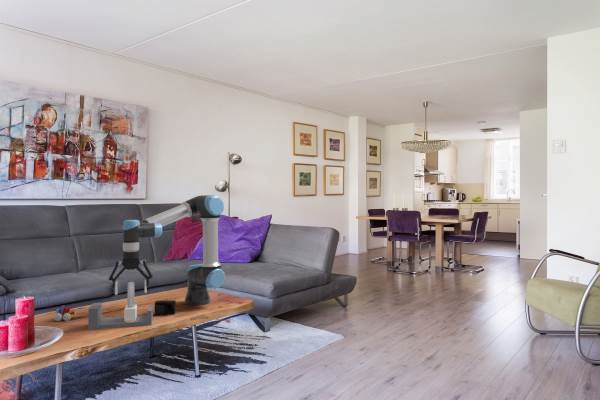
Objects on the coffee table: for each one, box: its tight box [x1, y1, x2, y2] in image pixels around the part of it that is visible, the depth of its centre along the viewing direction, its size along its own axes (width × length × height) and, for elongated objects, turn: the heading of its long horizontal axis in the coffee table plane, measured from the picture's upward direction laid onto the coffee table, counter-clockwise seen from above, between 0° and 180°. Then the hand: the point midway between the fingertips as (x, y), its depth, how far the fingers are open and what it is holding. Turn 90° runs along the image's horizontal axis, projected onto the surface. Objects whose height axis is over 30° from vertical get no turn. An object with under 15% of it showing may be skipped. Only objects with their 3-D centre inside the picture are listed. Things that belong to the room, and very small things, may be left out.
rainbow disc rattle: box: [53, 305, 77, 322], centre depth 212 cm, size 8×10×7 cm
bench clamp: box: [87, 302, 154, 331], centre depth 204 cm, size 28×12×10 cm, turn 107°
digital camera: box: [154, 299, 177, 316], centre depth 222 cm, size 10×5×7 cm, turn 98°
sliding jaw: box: [123, 281, 138, 322], centre depth 205 cm, size 5×9×18 cm, turn 17°
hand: (131, 293), depth 205 cm, fingers open, 13 cm apart
